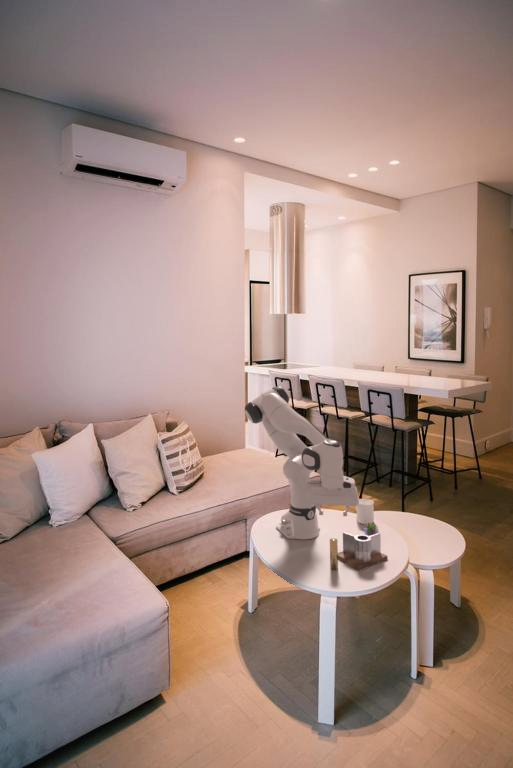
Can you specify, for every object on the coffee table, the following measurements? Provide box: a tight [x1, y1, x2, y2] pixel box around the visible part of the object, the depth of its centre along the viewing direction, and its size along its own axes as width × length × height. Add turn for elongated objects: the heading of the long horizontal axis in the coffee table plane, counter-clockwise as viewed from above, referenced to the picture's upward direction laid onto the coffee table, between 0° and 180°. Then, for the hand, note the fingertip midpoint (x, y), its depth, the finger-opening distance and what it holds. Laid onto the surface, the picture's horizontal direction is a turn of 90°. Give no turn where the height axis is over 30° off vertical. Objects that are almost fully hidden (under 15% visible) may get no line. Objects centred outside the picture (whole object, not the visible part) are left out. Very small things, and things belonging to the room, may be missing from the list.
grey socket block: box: [342, 531, 382, 563], centre depth 195 cm, size 13×13×9 cm
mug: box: [355, 498, 375, 525], centre depth 235 cm, size 12×8×10 cm
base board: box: [338, 550, 388, 571], centre depth 195 cm, size 14×16×2 cm
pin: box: [329, 537, 339, 571], centre depth 187 cm, size 3×3×12 cm
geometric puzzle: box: [362, 523, 380, 536], centre depth 214 cm, size 7×7×8 cm
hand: (333, 515), depth 185 cm, fingers open, 8 cm apart
